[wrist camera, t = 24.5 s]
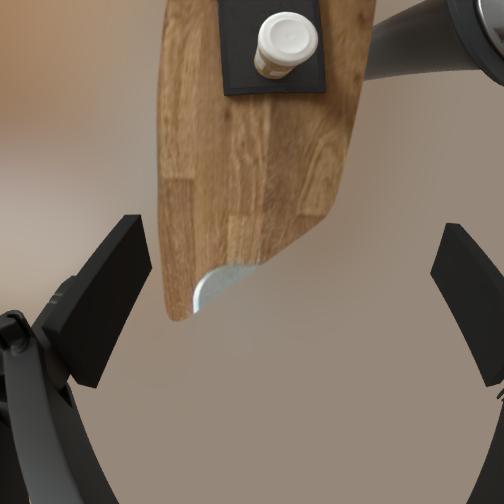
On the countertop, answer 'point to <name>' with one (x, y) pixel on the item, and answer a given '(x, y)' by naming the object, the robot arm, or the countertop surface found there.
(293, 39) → the sprinkles bottle
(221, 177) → the countertop surface
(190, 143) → the countertop surface
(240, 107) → the countertop surface
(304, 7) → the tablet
